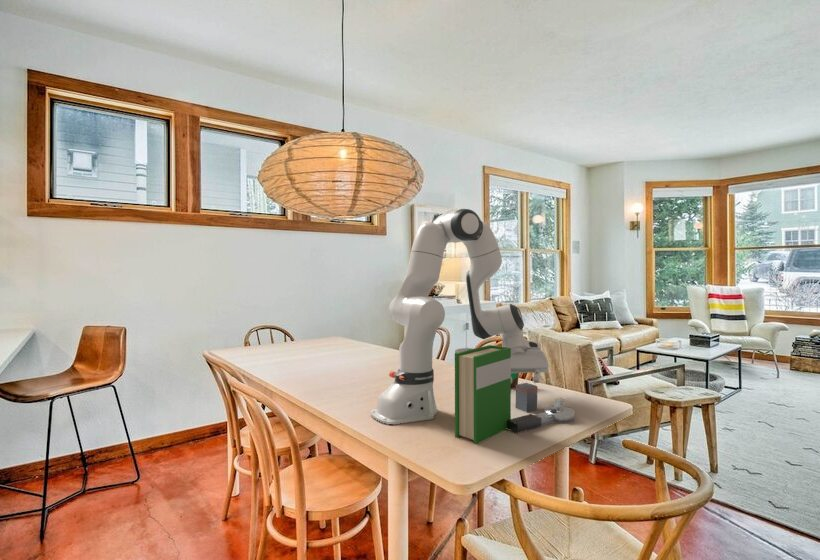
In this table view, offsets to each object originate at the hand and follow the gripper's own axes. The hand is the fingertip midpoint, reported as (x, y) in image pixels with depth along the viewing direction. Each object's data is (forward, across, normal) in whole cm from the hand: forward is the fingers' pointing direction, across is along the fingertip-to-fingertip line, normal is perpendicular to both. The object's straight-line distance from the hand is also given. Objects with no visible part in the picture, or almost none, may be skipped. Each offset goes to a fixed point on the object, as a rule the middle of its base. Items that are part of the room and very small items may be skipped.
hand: (523, 382), depth 152 cm
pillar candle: (-16, -14, +28) cm, 35 cm away
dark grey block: (+8, 0, +3) cm, 9 cm away
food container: (-11, 0, +23) cm, 25 cm away
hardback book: (+22, -19, -11) cm, 31 cm away
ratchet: (+18, 0, -6) cm, 19 cm away
